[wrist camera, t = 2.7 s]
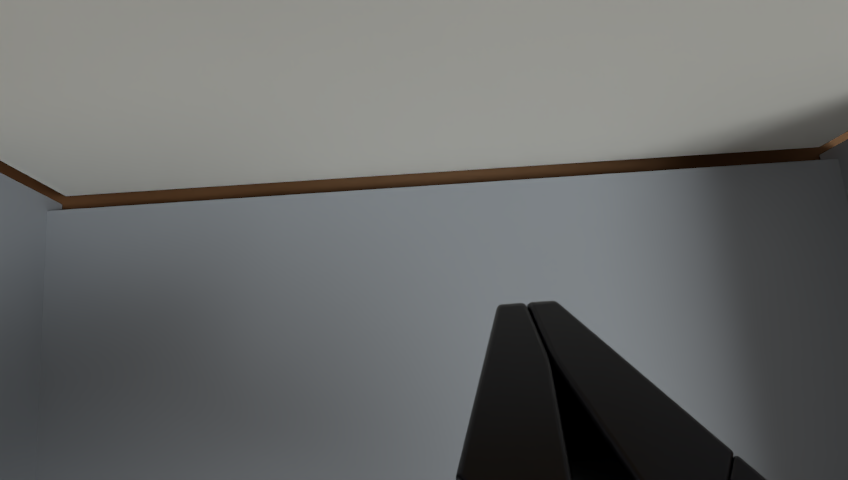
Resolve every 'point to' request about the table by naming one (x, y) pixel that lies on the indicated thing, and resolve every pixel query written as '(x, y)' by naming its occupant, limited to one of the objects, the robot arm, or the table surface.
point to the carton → (413, 319)
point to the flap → (404, 86)
